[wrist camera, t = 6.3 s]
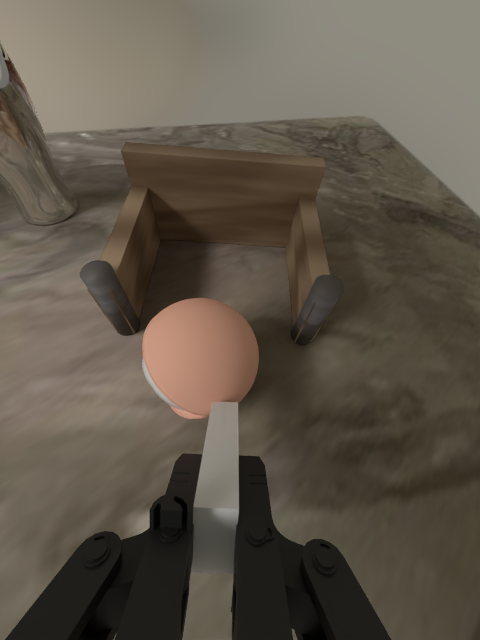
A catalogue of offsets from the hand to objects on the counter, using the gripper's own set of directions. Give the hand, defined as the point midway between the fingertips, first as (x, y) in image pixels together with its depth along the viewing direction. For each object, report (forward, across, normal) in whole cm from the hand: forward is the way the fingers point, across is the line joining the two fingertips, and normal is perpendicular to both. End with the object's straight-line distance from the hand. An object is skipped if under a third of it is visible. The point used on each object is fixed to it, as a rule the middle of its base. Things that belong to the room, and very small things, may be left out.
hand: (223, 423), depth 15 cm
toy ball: (+6, -2, 0) cm, 7 cm away
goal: (+14, -1, +7) cm, 15 cm away
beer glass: (+20, -22, +14) cm, 33 cm away
